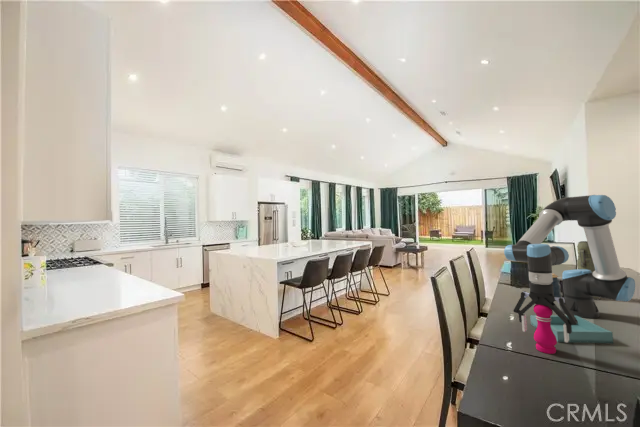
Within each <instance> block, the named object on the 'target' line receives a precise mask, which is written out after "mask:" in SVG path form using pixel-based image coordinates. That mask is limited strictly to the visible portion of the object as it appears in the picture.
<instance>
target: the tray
mask: <svg viewBox="0 0 640 427" xmlns="http://www.w3.org/2000/svg"><path fill="white" fill-rule="evenodd" d="M565 316H566V317H567V315H566V314H565ZM529 317H530V318H529V319H530V325H532V326H533V327H534V328H535V329H536V328H537V325H538V322H537V319H536V314H534V315H532V314H530V316H529ZM550 317H551V320H552V321H550V325H551V329H552V331H553V333H554V335H555V337H556V339H557V343H566V342H565V341H564V328H563V324H565V323H564V322H563V320H562V319H561V318H560V317H559V316H558V315H557V314H555V315H554V314H552V315H551V316H550ZM574 317H575V318H576V320H577V321H578V323H577V324H576V325H572V333H571V334H569V341H568V342H567V343H578V344H579V343H580V344H583V343H584V344H585V343H586V344H588V343H589V344H614V336H613V332H612V331H611V330H609V329H606V328H604V327H602V326H600V325H597V324H596V323H593V322H591V321H589V320H586V319H585V318H583V317H579V316H574ZM567 318H568V317H567ZM568 319H569V318H568Z"/></svg>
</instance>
